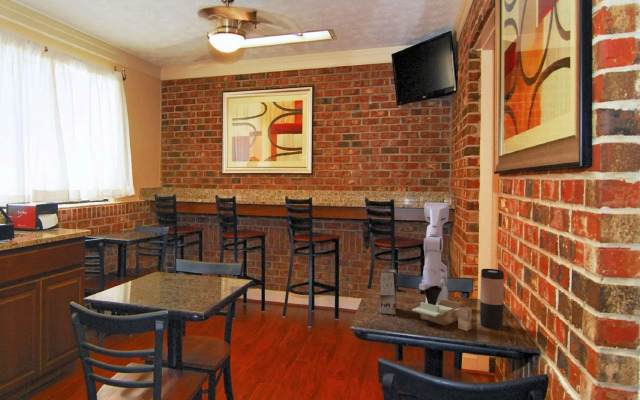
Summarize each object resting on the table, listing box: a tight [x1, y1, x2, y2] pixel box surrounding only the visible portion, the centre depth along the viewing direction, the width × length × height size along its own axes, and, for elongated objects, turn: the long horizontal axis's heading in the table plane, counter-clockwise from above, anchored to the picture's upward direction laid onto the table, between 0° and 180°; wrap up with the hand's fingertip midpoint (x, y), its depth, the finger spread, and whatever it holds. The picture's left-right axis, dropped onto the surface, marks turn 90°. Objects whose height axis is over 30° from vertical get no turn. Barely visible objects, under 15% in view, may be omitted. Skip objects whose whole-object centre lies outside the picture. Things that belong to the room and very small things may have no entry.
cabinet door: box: [411, 301, 453, 317], centre depth 138 cm, size 13×9×3 cm
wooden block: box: [457, 306, 472, 332], centre depth 132 cm, size 3×3×7 cm
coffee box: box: [379, 268, 398, 315], centre depth 151 cm, size 9×6×16 cm
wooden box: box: [419, 299, 462, 327], centre depth 143 cm, size 14×10×6 cm
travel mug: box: [479, 268, 505, 330], centre depth 135 cm, size 8×8×20 cm
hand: (431, 306), depth 138 cm, fingers closed
